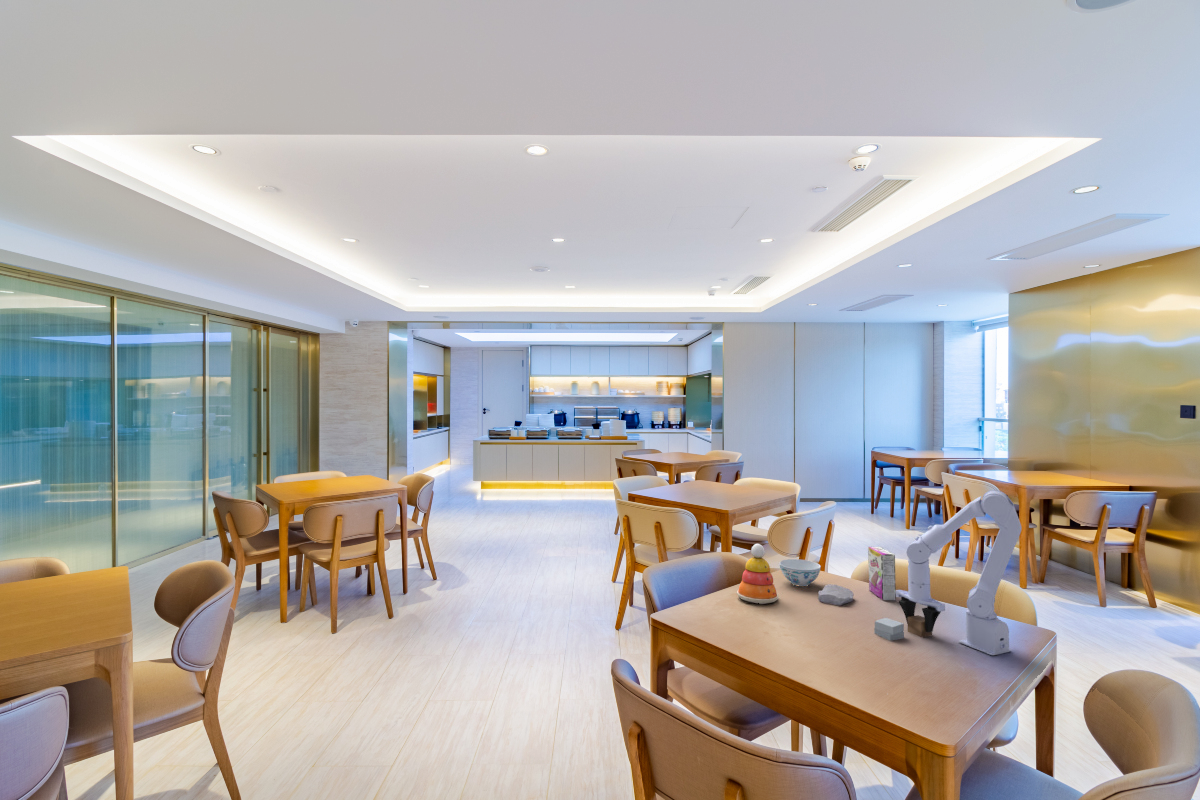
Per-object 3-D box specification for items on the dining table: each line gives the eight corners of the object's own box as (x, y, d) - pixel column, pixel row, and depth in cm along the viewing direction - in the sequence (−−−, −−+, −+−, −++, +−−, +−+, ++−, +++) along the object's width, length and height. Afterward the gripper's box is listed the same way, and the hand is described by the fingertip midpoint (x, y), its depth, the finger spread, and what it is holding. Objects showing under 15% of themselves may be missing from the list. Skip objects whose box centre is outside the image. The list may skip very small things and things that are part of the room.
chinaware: (771, 580, 216) (771, 560, 217) (803, 577, 221) (803, 557, 221) (795, 592, 202) (795, 571, 202) (829, 588, 207) (829, 567, 207)
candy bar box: (867, 590, 204) (867, 546, 204) (881, 591, 204) (881, 546, 204) (882, 601, 193) (881, 554, 193) (896, 601, 192) (895, 554, 193)
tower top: (903, 631, 161) (903, 623, 161) (892, 634, 159) (892, 627, 159) (886, 624, 166) (885, 617, 166) (875, 628, 163) (874, 621, 163)
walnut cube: (932, 635, 163) (931, 620, 163) (921, 637, 161) (921, 622, 161) (918, 629, 167) (918, 615, 167) (907, 632, 165) (907, 617, 165)
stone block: (854, 603, 195) (826, 592, 202) (857, 591, 195) (828, 580, 201) (844, 614, 186) (815, 602, 192) (847, 601, 186) (817, 589, 192)
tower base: (904, 639, 161) (903, 631, 161) (890, 642, 159) (890, 634, 159) (888, 632, 166) (888, 625, 166) (874, 635, 164) (874, 627, 164)
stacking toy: (764, 609, 185) (763, 551, 185) (728, 598, 195) (728, 543, 196) (786, 599, 194) (785, 544, 195) (751, 590, 205) (750, 537, 205)
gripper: (951, 587, 159) (952, 634, 159) (906, 574, 173) (907, 617, 172) (935, 590, 157) (935, 638, 156) (890, 576, 170) (891, 620, 170)
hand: (919, 627), depth 164 cm, fingers open, 5 cm apart
